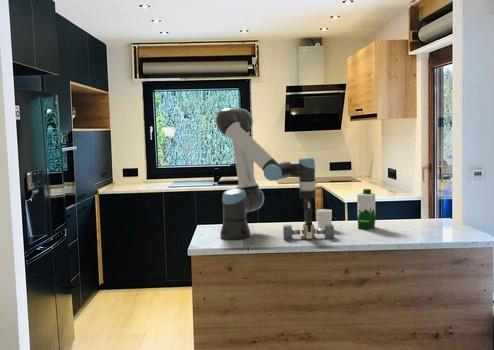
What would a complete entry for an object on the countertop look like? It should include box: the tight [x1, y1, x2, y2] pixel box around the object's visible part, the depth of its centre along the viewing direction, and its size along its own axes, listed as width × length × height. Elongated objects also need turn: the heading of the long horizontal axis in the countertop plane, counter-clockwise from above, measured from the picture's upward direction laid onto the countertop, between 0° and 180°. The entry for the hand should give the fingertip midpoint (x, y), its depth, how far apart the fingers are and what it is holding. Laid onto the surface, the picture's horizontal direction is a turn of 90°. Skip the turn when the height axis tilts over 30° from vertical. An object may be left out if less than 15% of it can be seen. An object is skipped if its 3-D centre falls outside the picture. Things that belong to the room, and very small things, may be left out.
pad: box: [300, 235, 317, 241], centre depth 235 cm, size 7×7×1 cm
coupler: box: [301, 223, 317, 239], centre depth 235 cm, size 7×5×6 cm
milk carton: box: [356, 188, 376, 230], centre depth 252 cm, size 9×9×20 cm
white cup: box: [316, 208, 333, 229], centre depth 253 cm, size 8×8×10 cm
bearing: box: [282, 224, 301, 241], centre depth 235 cm, size 8×5×6 cm, turn 87°
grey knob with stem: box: [315, 223, 335, 240], centre depth 234 cm, size 8×5×6 cm, turn 87°
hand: (308, 236), depth 235 cm, fingers open, 8 cm apart
